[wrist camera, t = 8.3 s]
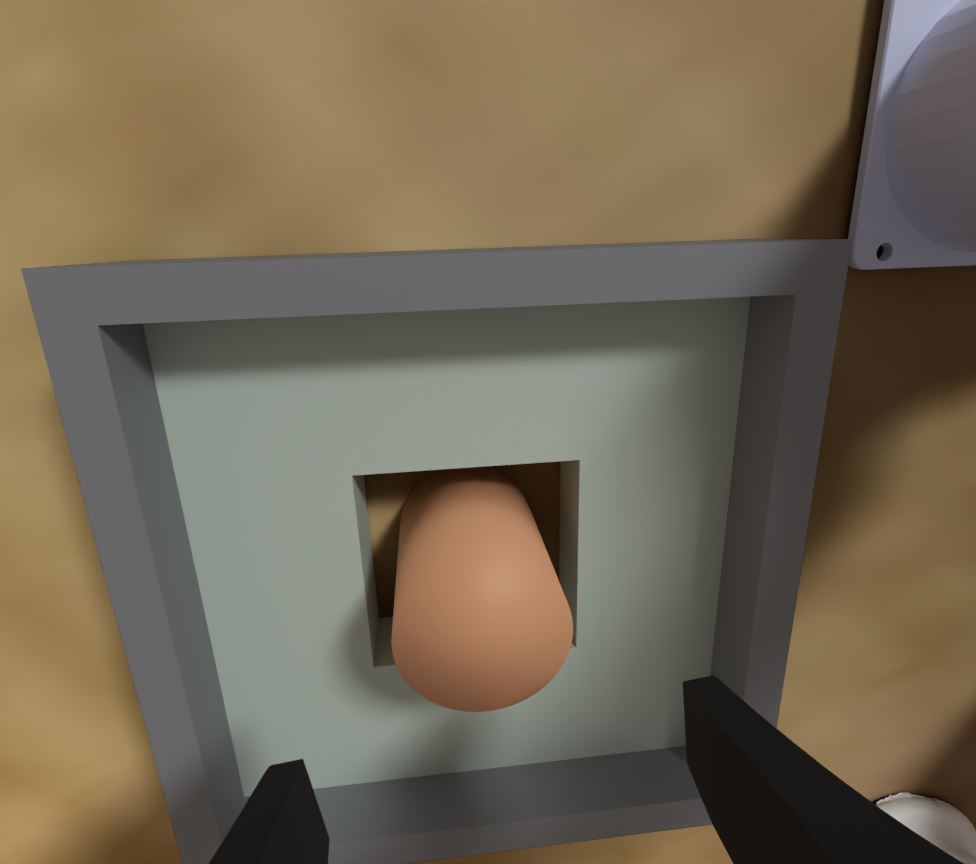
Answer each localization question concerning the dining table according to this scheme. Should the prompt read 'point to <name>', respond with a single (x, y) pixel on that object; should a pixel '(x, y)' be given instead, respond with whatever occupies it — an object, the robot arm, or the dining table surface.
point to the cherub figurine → (934, 823)
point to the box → (435, 446)
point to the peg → (476, 594)
